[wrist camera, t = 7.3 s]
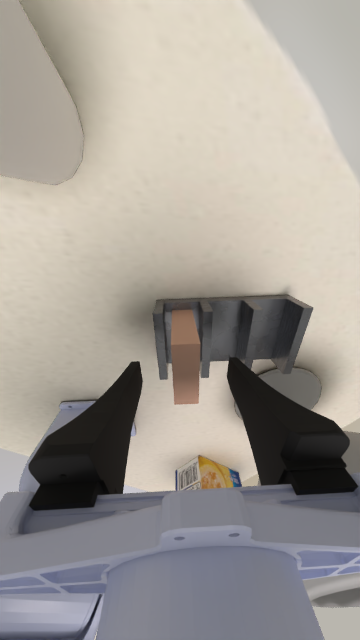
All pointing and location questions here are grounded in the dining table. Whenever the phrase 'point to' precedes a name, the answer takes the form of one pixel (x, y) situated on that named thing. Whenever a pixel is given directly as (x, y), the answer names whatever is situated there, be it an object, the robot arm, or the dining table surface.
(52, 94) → the foam cup
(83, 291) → the dining table surface
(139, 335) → the dining table surface
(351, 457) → the chalice
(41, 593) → the robot arm
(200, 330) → the dish rack
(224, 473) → the beverage box
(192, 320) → the tan wooden block
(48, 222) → the dining table surface
